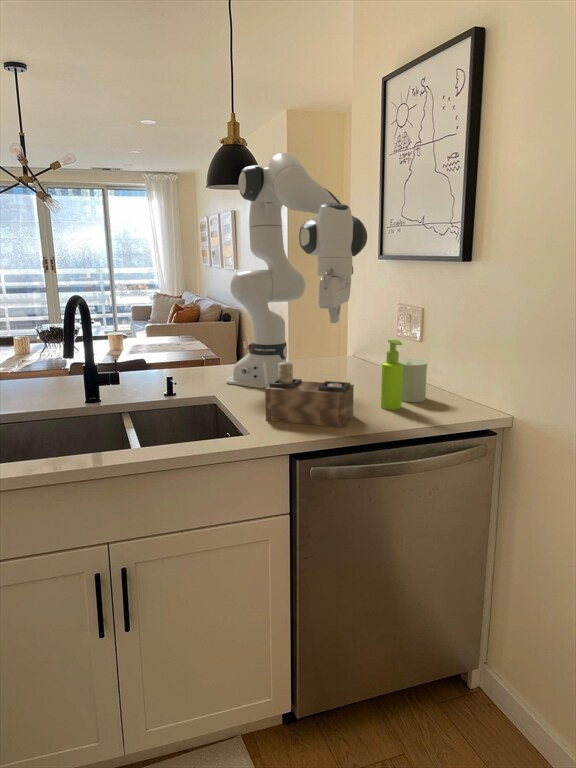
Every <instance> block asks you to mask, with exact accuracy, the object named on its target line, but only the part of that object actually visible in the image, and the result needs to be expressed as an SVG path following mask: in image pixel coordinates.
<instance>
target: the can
mask: <svg viewBox="0 0 576 768" xmlns="http://www.w3.org/2000/svg"><path fill="white" fill-rule="evenodd" d="M398 362H399V363H402V364H403V368H402V395H401V402H405V403H420V402H421V403H422V402H424V401H426V399H427V396H426V395H427V394H426V393H427V391H426V390H427V373H428V371H427V369H428V362H427V361H426V360H422V359H421V360H420V359H413V358H412V359H400V360H398Z"/></svg>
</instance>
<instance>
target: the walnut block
mask: <svg viewBox="0 0 576 768" xmlns="http://www.w3.org/2000/svg"><path fill="white" fill-rule="evenodd" d="M330 383H339V384H342V387H327V384H330ZM264 388H265V389H264V391H265V392H264V394H265V399H264V401H265V402H264V403H265V421H269V422H270V421H272V422H283V423H292V424H293V423H294V424H303V425H313V426H322V427H323V426H325V427H334V426H335V427H336V428H345V427H346V425H347V424H348V423H349V421H351V419H352V418H353V417H354V384H351V382H346V381H345V382H344V381H329V380H325V381H324V382H319V381H304V380H302V379H301V378H300V379H299V378H293V383H292V384H284V383H279V380H278V378H277V379H276V380H274V381H272V382H271V383H269V386H268V387H264Z"/></svg>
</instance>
